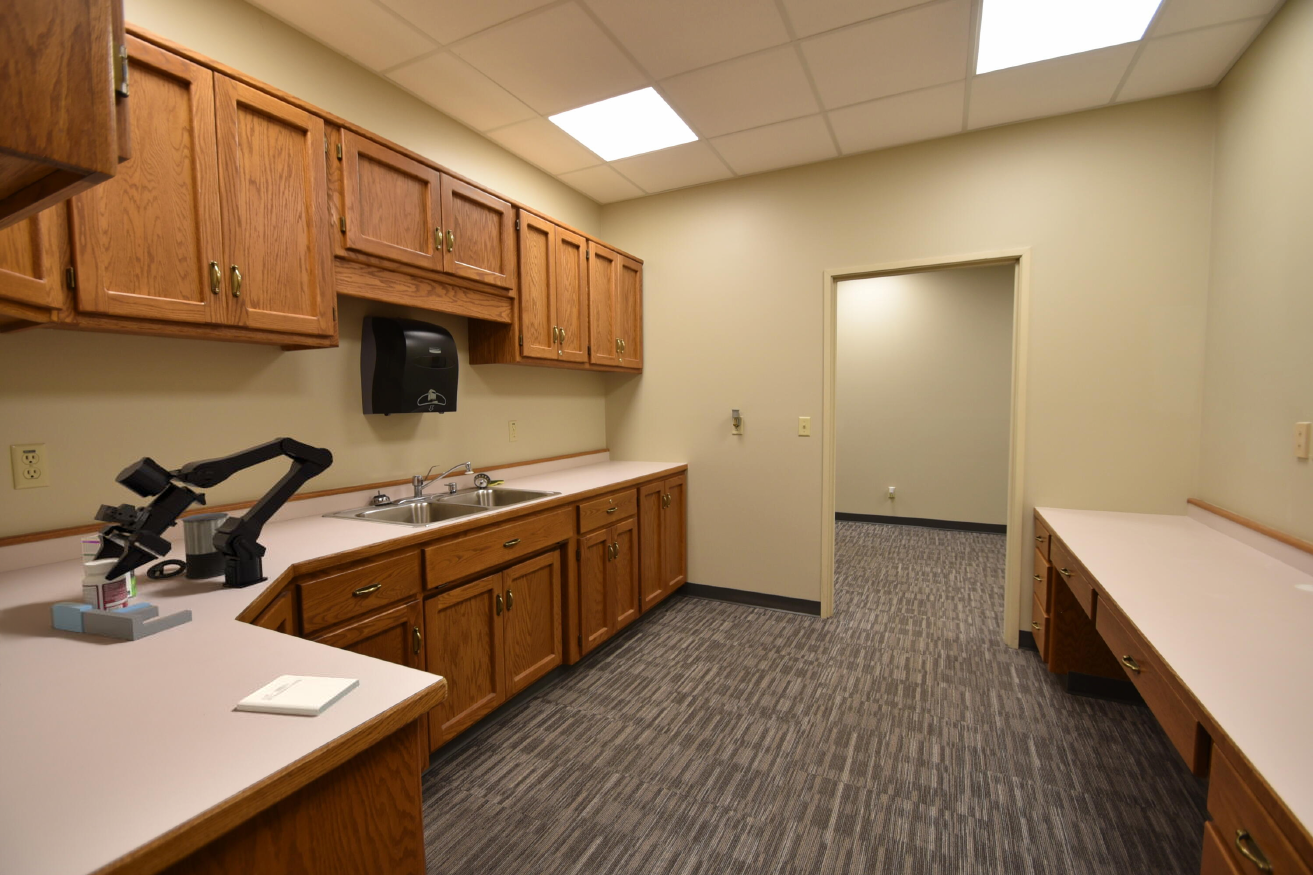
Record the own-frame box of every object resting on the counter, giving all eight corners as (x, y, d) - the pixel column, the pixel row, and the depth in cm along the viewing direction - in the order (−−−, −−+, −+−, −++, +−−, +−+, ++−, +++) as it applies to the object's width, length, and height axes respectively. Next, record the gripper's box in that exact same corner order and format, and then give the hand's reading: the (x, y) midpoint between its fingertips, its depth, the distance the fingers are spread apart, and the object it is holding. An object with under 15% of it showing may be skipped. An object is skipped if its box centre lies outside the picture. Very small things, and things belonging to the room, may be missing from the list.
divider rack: (192, 620, 108) (190, 597, 108) (132, 641, 99) (130, 615, 98) (112, 609, 115) (111, 587, 115) (49, 627, 106) (47, 603, 105)
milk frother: (235, 573, 139) (231, 515, 138) (150, 589, 127) (146, 526, 126) (225, 563, 149) (221, 508, 148) (145, 577, 137) (141, 518, 136)
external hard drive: (318, 720, 73) (236, 713, 75) (360, 688, 82) (285, 683, 83) (317, 708, 73) (236, 702, 75) (359, 677, 81) (284, 672, 83)
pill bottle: (133, 609, 114) (129, 555, 113) (122, 619, 108) (118, 562, 108) (92, 615, 111) (88, 559, 110) (79, 625, 105) (74, 567, 105)
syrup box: (107, 604, 118) (101, 537, 117) (85, 603, 119) (80, 536, 118) (137, 595, 123) (132, 531, 122) (116, 594, 124) (111, 530, 123)
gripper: (107, 485, 116) (35, 549, 107) (146, 490, 107) (72, 561, 98) (157, 515, 124) (94, 577, 115) (198, 522, 115) (133, 590, 106)
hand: (97, 576), depth 108 cm, fingers open, 9 cm apart
